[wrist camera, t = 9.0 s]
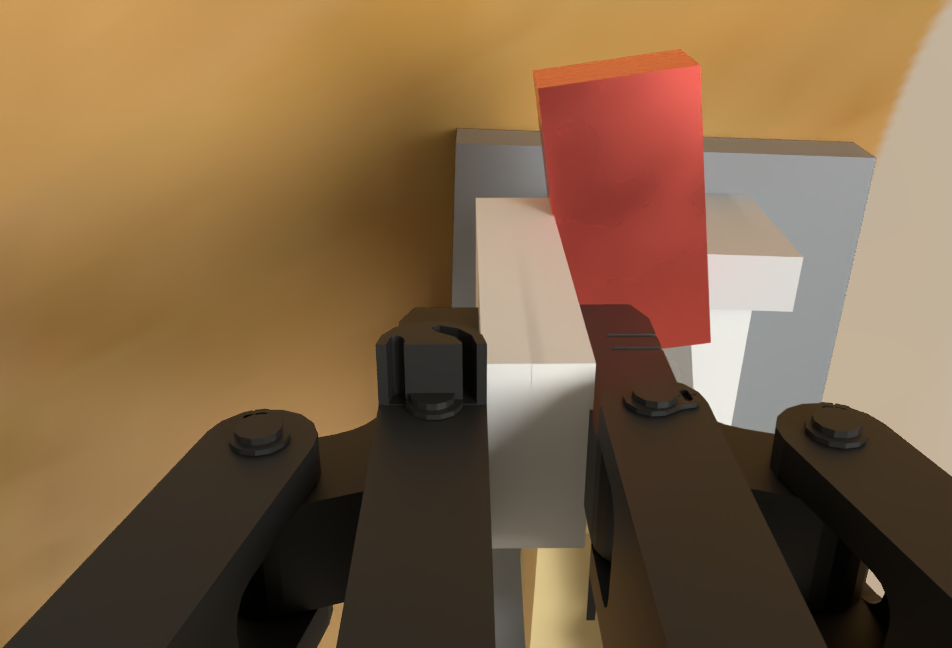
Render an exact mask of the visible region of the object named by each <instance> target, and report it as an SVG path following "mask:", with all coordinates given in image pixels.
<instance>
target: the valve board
mask: <svg viewBox="0 0 952 648" xmlns="http://www.w3.org/2000/svg"><path fill="white" fill-rule="evenodd" d="M703 152H704V178H705V204H706V230H707V256H708V282H709V308H710V333H711V343H705V344H697V345H691V349H692V370H693V389H694V390H696V391H698V392H699V393H700V394H701V395H702V396H703V397H704V398H705V400H706V401H707V402H708V404H709V406H710V408H711V410H712V412H713V414H714V416H715V418H716V420H717V421H718V422H720V423H723V424H726V425H730V426H734V427H739V428H743V429H749V430H755V431H761V432H767V433H773V434H774V433H775V427H776V421H777V416H778V415H780V414H781V413H782V412H783V411H784V410H785V409H786V408H790V407H793V406H796V405H800V404H808V403H820V402H822V398H823V393H824V389H825V384H826V380H827V375H828V371H829V367H830V362H831V358H832V353H833V349H834V344H835V339H836V336H837V331H838V327H839V322H840V318H841V314H842V309H843V305H844V300H845V296H846V291H847V287H848V283H849V278H850V274H851V269H852V265H853V260H854V256H855V252H856V247H857V243H858V238H859V234H860V230H861V225H862V220H863V216H864V211H865V207H866V203H867V199H868V194H869V190H870V185H871V181H872V176H873V172H874V168H875V163H876V159H877V158H876V157H874V156H873V155H871V154H870V153H868V152H867V151H865V150H864V149H863V148H861V147H860V146H858V145H857V144H855V143H854V142H830V141H801V140H773V139H744V138H716V137H703ZM476 198H548V197H547V189H546V180H545V171H544V163H543V154H542V145H541V137H540V131H516V130H488V129H459V128H457V136H456V154H455V194H454V234H453V274H452V307H476ZM590 553H591V539H590V534H589V529H588V524H587V519H586V533H585V548H495V549H492V560H493V587H494V615H495V642H496V648H603V644H602V638H601V633H600V628H599V622H598V617H597V612H596V616H595V620H586V614H587V599H588V584H589V569H590Z"/></svg>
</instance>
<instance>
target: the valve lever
mask: <svg viewBox="0 0 952 648" xmlns="http://www.w3.org/2000/svg"><path fill="white" fill-rule="evenodd" d="M533 76H534V85H535V93H536V102H537V111H538V119H539V128H540V137H541V145H542V154H543V163H544V171H545V180H546V189H547V197H548V198H549V202H550V207H551V211H552V216H554V218H555V221H556V225H557V228H558V232H559V235H560V239H561V242H562V246H563V249H564V253H565V256H566V260H567V263H568V267H569V270H570V274H571V277H572V281H573V284H574V288H575V291H576V295H577V298H578V302H579V305H581V304H630V305H631V306H633V307H634V308H636V309H637V310H638V311H640V312H641V313H643V314H644V315H645V316H647V317H648V318H649V319H650V322H651V324H652V326H653V328H654V331H655V333H656V337H658V340H659V342H660V344H661V349H662V350H663V351H664V353H665V356H666V358H667V360H668V362H669V365H670V367H671V369H672V372H673V374H674V376H675V378H676V381H677V382H679V383H682V384H685V385H687V386H689V387H690V388H692V389H693V370H692V349H691V345H697V344H705V343H711V333H710V308H709V282H708V256H707V230H706V204H705V178H704V152H703V126H702V100H701V74H700V64H698V63H697V62H696V61H695V60H693V59H692V58H691V57H690V56H688V55H687V54H686V53H685V52H683V51H682V50H681V49H678V50H671V51H665V52H658V53H651V54H644V55H637V56H630V57H624V58H617V59H610V60H603V61H596V62H589V63H583V64H576V65H569V66H562V67H555V68H548V69H541V70H535V71H533Z"/></svg>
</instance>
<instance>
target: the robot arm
mask: <svg viewBox="0 0 952 648" xmlns="http://www.w3.org/2000/svg"><path fill="white" fill-rule="evenodd" d="M376 360H377V379H378V398H379V407H378V413H377V418H375V419H374V420H372V421H371V422H369V423H367V424H366V425H363V426H361V427H359V428H356V429H354V430H351V431H347V432H343V433H339V434H335V435H330V436H324V437H319V438H318V433H317V431H316V428H315V426H314V423H313V422H311V421H310V420H309V419H307V418H306V417H304V416H303V415H301V414H297V413H293V412H289V411H285V410H269V409H260V410H255V411H247V412H243V413H241V414H238V415H236V416H233V417H231V418H228V419H226V420H223V421H221V422H220V423H218V424H217V425H216V426H214V427H213V428H212V429H210V430H209V431H207V432H206V434H205V435H204V436H203V437H202V438H201V439H200V440H199V441H198V442H197V443H196V444H195V445H194V446H193V447H192V448H191V449H190V450H189V451H188V453H187V454H186V455H185V456H184V457H183V458H182V459H181V460H180V461H179V462H178V463H177V464H176V465H175V466H174V467H173V468H172V469H171V471H170V472H169V473H168V474H167V475H166V476H165V477H164V478H163V479H162V480H161V481H160V482H159V483H158V484H157V485H156V486H155V487H154V488H153V490H152V491H151V492H150V493H149V494H148V495H147V496H146V497H145V498H144V499H143V500H142V501H141V502H140V503H139V504H138V505H137V506H136V507H135V509H134V510H133V511H132V512H131V513H130V514H129V515H128V516H127V517H126V518H125V519H124V520H123V521H122V522H121V523H120V524H119V525H118V527H117V528H116V529H115V530H114V531H113V532H112V533H111V534H110V535H109V536H108V537H107V538H106V539H105V540H104V541H103V542H102V543H101V544H100V546H99V547H98V548H97V549H96V550H95V551H94V552H93V553H92V554H91V555H90V556H89V557H88V558H87V559H86V560H85V561H84V562H83V563H82V565H81V566H80V567H79V568H78V569H77V570H76V571H75V572H74V573H73V574H72V575H71V576H70V577H69V578H68V579H67V580H66V581H65V583H64V584H63V585H62V586H61V587H60V588H59V589H58V590H57V591H56V592H55V593H54V594H53V595H52V596H51V597H50V598H49V599H48V600H47V602H46V603H45V604H44V605H43V606H42V607H41V608H40V609H39V610H38V611H37V612H36V613H35V614H34V615H33V616H32V617H31V618H30V619H29V621H28V622H27V623H26V624H25V625H24V626H23V627H22V628H21V629H20V630H19V631H18V632H17V633H16V634H15V635H14V636H13V637H12V639H11V640H10V641H9V642H8V643H7V644H6V645H5V646H4V647H3V648H317V646H318V644H319V643H320V641H321V639H322V637H323V635H324V633H325V631H326V629H327V627H328V626H329V623H330V619H331V615H332V611H333V605H334V604H338V603H342V602H344V606H343V612H342V618H341V623H340V629H339V635H338V641H337V646H336V648H496V642H495V615H494V587H493V560H492V549H495V548H585V533H586V519H587V524H588V529H589V534H590V539H591V553H590V569H589V584H588V599H587V614H586V620H595V616H596V612H597V617H598V622H599V628H600V633H601V638H602V644H603V648H952V476H950V475H949V474H948V473H946V472H945V471H944V470H942V469H941V468H940V467H939V466H937V465H936V464H935V463H934V462H932V461H931V460H930V459H929V458H927V457H926V456H925V455H923V454H922V453H921V452H920V451H918V450H917V449H916V448H915V447H913V446H912V445H911V444H909V443H908V442H907V441H906V440H904V439H903V438H902V437H901V436H899V435H898V434H897V433H895V432H894V431H893V430H892V429H890V428H889V427H888V426H887V425H885V424H884V423H882V422H880V421H879V420H877V419H875V418H874V417H871V416H870V415H869V414H866V413H864V412H860V411H858V410H855V409H852V408H850V407H849V406H846V405H840V404H835V405H833V403H825V402H820V403H808V404H800V405H796V406H793V407H790V408H786V409H785V410H784V411H783V412H782V413H781V414H780V415H778V416H777V421H776V427H775V433H774V434H773V433H767V432H761V431H755V430H749V429H743V428H739V427H734V426H730V425H726V424H723V423H720V422H718V421H717V420H716V418H715V416H714V414H713V412H712V410H711V408H710V406H709V404H708V402H707V401H706V400H705V398H704V397H703V396H702V395H701V394H700V393H699V392H698V391H696V390H694V389H692V388H690V387H689V386H687V385H685V384H682V383H679V382H677V381H676V378H675V376H674V374H673V372H672V369H671V367H670V365H669V362H668V360H667V358H666V356H665V353H664V351H663V350H662V349H661V344H660V342H659V340H658V337H656V333H655V331H654V328H653V326H652V324H651V322H650V319H649V318H648V317H647V316H645V315H644V314H643V313H641V312H640V311H638V310H637V309H636V308H634V307H633V306H631V305H630V304H581V305H579V302H578V298H577V295H576V291H575V288H574V284H573V281H572V277H571V274H570V270H569V267H568V263H567V260H566V256H565V253H564V249H563V246H562V242H561V239H560V235H559V232H558V228H557V225H556V221H555V218H554V216H552V211H551V207H550V202H549V198H476V307H452V308H414V309H413V310H412V311H411V312H410V313H409V314H408V315H406V316H405V317H404V318H403V319H402V320H401V321H400V322H399V327H395V328H393V329H392V330H390V331H388V332H386V333H385V334H383V335H382V336H381V337H380V339H379V340H378V342H377V343H376ZM868 569H870V570H871V571H872V572H873V573H874V575H875V576H876V577H877V579H878V580H879V581H880V583H881V584H882V587H883V589H884V591H885V594H884V596H883V598H881V597H880V596H879V595H877V594H876V593H875V592H874V591H873V590H872V589H871V588H870V587H869V586H868V585H867V583H866V577H867V573H868Z"/></svg>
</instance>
